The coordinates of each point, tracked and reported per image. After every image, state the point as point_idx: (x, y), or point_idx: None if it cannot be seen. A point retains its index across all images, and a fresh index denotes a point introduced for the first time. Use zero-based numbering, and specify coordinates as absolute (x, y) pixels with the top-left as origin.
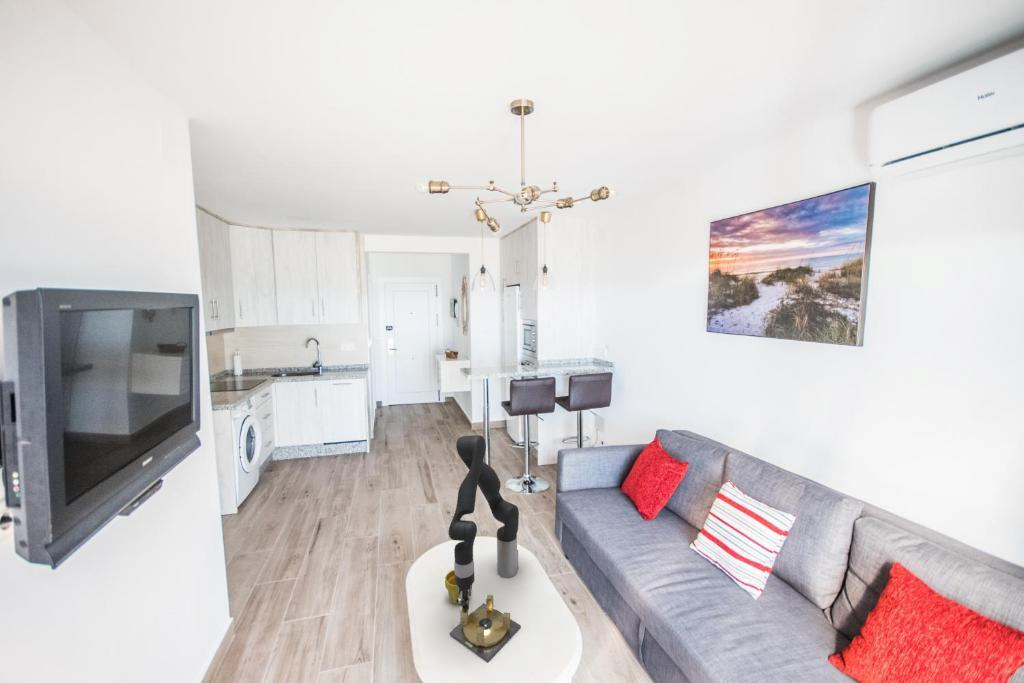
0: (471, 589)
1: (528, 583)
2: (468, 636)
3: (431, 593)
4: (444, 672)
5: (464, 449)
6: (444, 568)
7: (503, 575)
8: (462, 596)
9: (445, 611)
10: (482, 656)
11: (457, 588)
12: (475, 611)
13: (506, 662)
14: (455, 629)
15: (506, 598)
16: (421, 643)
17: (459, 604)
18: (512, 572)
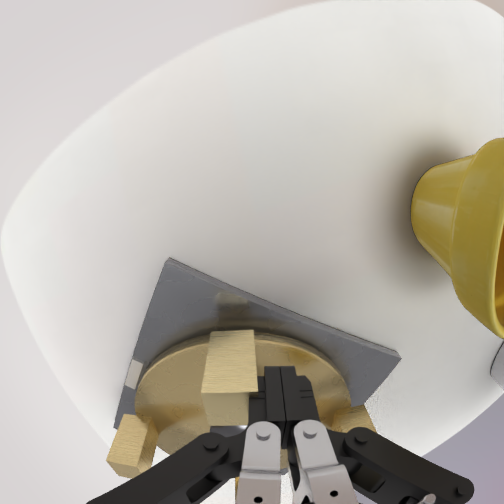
0: (379, 480)
1: (455, 419)
2: (146, 384)
3: (440, 58)
4: (20, 298)
5: None
6: None
7: (501, 356)
8: None
9: (348, 163)
10: (116, 415)
11: (471, 275)
12: (327, 373)
13: None
14: (198, 289)
15: (416, 403)
16: (87, 125)
17: (164, 465)
18: (498, 383)
